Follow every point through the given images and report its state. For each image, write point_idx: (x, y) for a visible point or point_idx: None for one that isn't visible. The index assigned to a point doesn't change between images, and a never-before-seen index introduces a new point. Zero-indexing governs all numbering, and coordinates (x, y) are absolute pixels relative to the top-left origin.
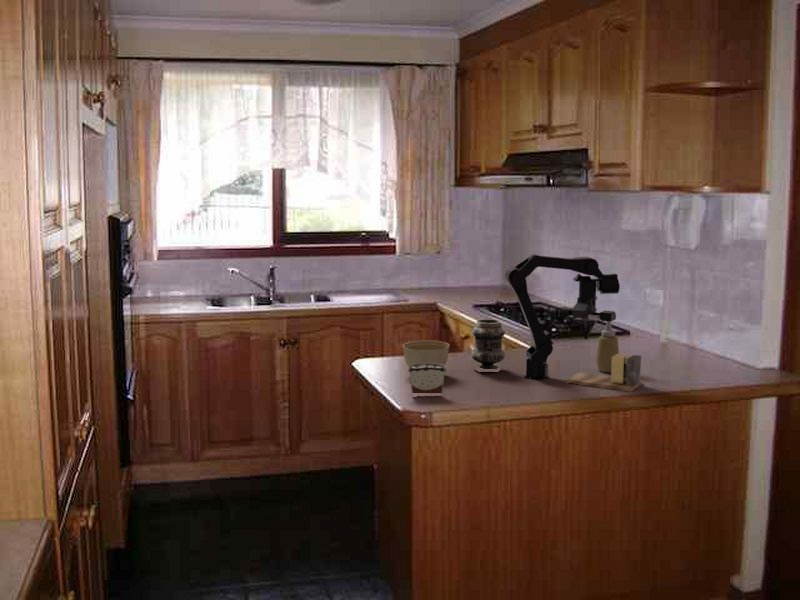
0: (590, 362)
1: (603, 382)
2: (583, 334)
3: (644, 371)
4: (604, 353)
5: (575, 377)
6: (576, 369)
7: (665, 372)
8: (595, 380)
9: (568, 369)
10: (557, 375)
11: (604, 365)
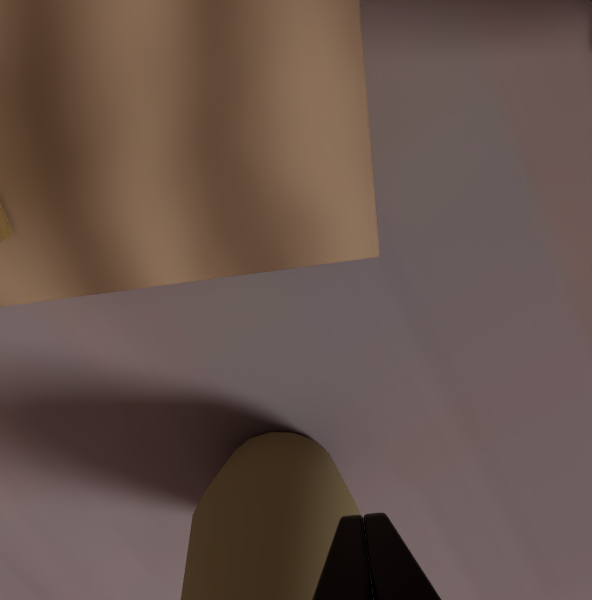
0: (465, 580)
1: (9, 45)
2: (423, 583)
3: (112, 561)
4: (254, 537)
5: (318, 58)
6: (474, 405)
7: (21, 592)
8: (110, 73)
9: (526, 375)
10: (541, 152)
11: (261, 456)
